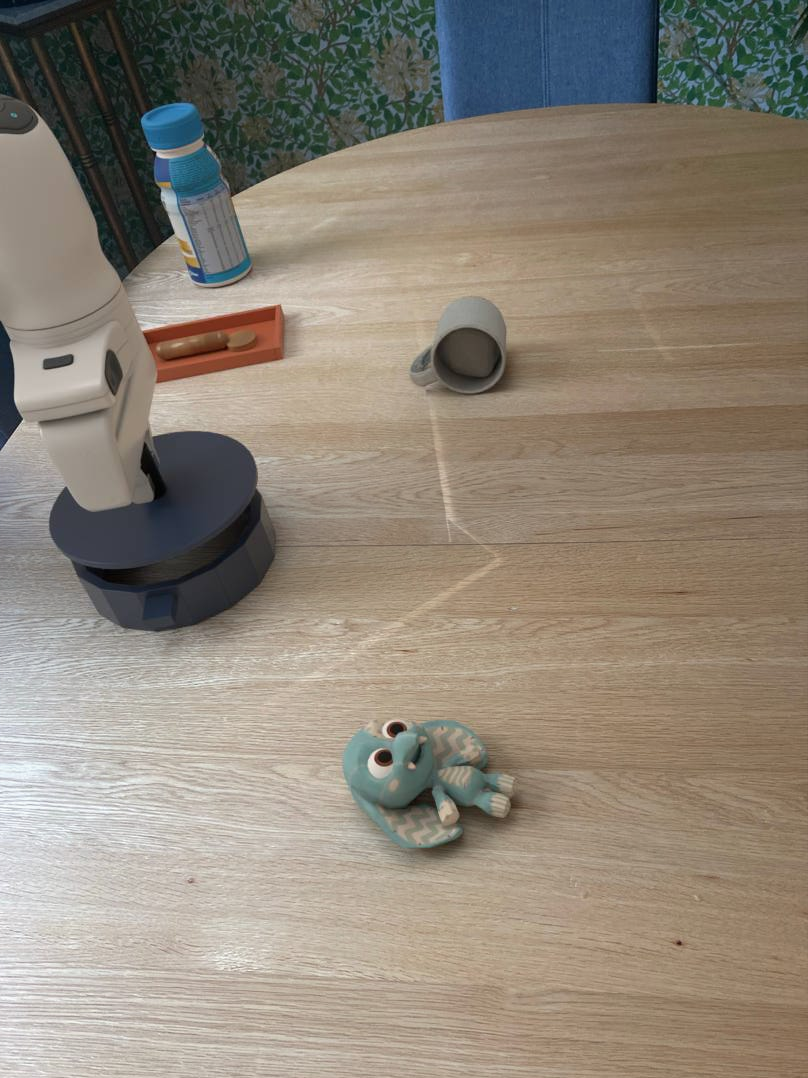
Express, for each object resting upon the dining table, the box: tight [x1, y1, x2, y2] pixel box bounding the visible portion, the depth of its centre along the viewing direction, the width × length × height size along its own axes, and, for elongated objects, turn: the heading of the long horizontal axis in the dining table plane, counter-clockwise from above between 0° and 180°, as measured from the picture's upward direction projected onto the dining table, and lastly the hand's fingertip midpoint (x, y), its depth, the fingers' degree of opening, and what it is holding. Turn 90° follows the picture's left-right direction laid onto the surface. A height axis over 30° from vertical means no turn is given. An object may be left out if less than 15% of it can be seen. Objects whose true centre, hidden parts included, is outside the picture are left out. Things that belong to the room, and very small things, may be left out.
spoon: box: [155, 330, 258, 360], centre depth 117 cm, size 12×4×2 cm, turn 97°
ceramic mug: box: [408, 295, 507, 395], centre depth 105 cm, size 11×8×8 cm
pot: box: [69, 487, 277, 632], centre depth 90 cm, size 17×22×5 cm
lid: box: [48, 430, 259, 570], centre depth 84 cm, size 18×18×6 cm
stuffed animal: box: [341, 716, 518, 849], centre depth 68 cm, size 11×7×12 cm
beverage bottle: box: [140, 102, 253, 288], centre depth 126 cm, size 8×8×20 cm
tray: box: [142, 303, 285, 384], centre depth 117 cm, size 17×10×2 cm, turn 97°
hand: (148, 484), depth 85 cm, fingers closed on lid, 2 cm apart
